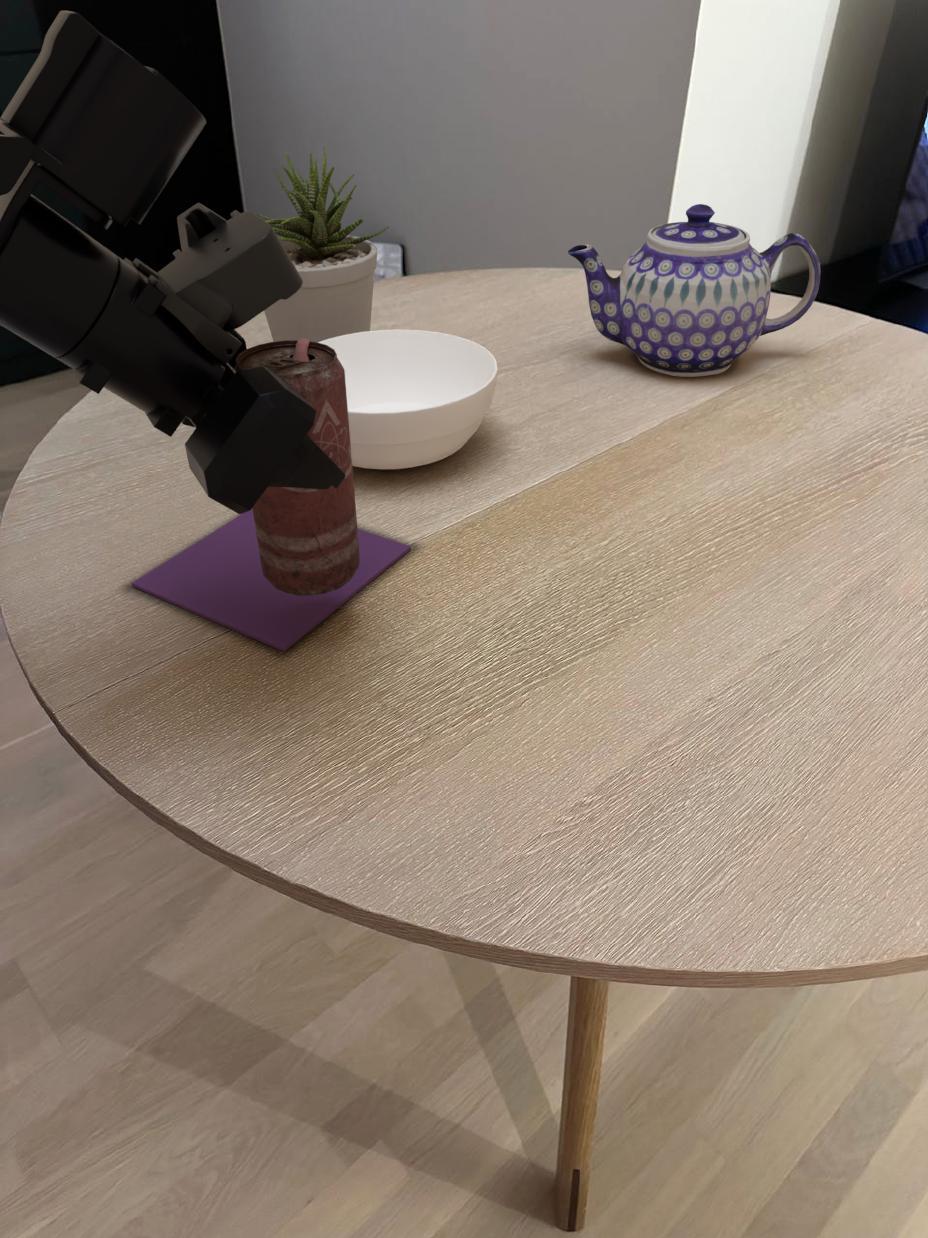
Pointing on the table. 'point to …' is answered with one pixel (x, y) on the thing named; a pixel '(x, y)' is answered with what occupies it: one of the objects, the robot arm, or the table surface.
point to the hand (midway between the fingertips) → (323, 463)
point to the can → (300, 517)
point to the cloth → (256, 584)
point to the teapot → (692, 294)
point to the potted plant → (323, 265)
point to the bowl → (412, 394)
